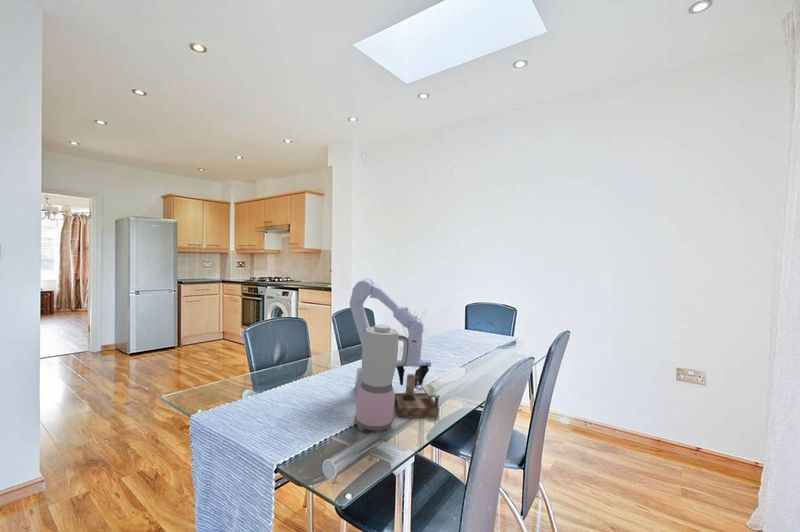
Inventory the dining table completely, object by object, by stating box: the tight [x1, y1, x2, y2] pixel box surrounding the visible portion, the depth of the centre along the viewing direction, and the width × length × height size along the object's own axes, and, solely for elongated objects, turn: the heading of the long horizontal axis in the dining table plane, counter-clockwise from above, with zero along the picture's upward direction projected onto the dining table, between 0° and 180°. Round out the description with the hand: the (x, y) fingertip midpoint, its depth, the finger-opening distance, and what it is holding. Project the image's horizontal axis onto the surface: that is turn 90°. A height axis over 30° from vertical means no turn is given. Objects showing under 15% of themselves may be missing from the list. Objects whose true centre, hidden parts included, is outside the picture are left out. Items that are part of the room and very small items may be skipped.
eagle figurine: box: [414, 368, 419, 385], centre depth 151 cm, size 8×7×9 cm
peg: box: [405, 373, 416, 393], centre depth 138 cm, size 3×3×8 cm
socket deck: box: [394, 384, 440, 418], centre depth 127 cm, size 14×12×7 cm
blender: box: [354, 324, 409, 432], centre depth 113 cm, size 16×12×32 cm
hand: (410, 384), depth 138 cm, fingers open, 7 cm apart
